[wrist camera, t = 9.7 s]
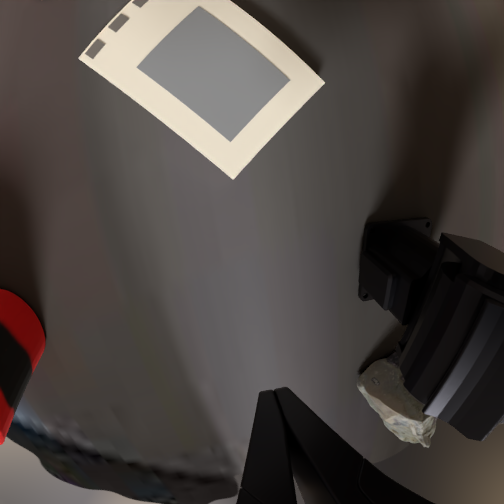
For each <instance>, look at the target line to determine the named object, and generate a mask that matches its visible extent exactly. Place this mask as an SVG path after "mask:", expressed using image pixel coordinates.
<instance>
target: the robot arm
mask: <svg viewBox="0 0 504 504" xmlns="http://www.w3.org/2000/svg"><path fill="white" fill-rule="evenodd" d="M426 223H427V225H426ZM371 228H373V231H372V232H370V230H371ZM431 228H432V221H431V219H429V218H427V217H424V218H413V219H402V220H392V221H382V222H372V223H368V224H367V225H366V227H365V231H364V244H363V252H362V254H361V262H360V272H359V283H360V284H359V293H358V296H359V298H360V299H361V300H362V301H368V300H372V299H375V300H376V302H377V303H378V304H379V305H380V306H381V307H382V308H383V309H384V310H389V311H390V312H391V313H392V314H393V315H394V316H395V317H396V318H397V319H398V321H399V322H400V323H401V324H402V325H407V324H408V326H407V328H406V331H405V333H404V335H403V337H402V339H401V341H399V342H398V344H397V346H396V351H397V355H398V358H399V368H400V371H401V373H402V375H403V378H404V382H403V385H404V387H405V389H406V390H407V391H408V392H409V394H410V395H411V396H412V397H414V398H415V399H416V400H417V401H418V402H419V403H421V404H422V405H424V407H423V409H422V412H423V413H424V414H427V415H430V416H434V417H437V418H439V419H441V420H443V421H445V422H447V423H449V424H450V425H451V426H453V427H455V429H457V430H458V431H459V432H460V433H462V434H463V435H464V436H465V437H467V438H468V439H473V440H479V441H483V440H485V439H486V438H487V437H488V436H489V435H490V434H491V432H492V431H493V430H494V429H495V428H496V427H497V426H498V424H504V253H503V252H501V251H500V250H498V249H496V248H494V247H492V246H490V245H488V244H486V243H484V242H482V241H479V240H475V239H470V238H466V237H461V236H457V235H452V234H447V233H441V236H440V239H439V241H440V244H439V243H438V242H436V241H434V240H433V239H431V238H430V235H431ZM365 293H366V295H364V294H365ZM363 295H364V296H363ZM293 476H294V478H295V480H296V483H297V486H298V488H299V490H300V493H301V495H302V498H303V500H304V502H305V504H435V503H433V502H431V501H429V500H427V499H425V498H423V497H421V496H420V495H418V494H416V493H414V492H412V491H411V490H409V489H407V488H406V487H404V486H402V485H400V484H399V483H397V482H396V481H394V480H393V479H391V478H390V477H388V476H386V475H385V474H384V473H382V472H381V471H380V470H379V469H377V468H376V467H375V466H374V465H372V464H371V463H370V462H369V461H368V460H367V459H365V458H364V459H363V456H362V455H361V454H359V453H358V452H357V451H356V450H355V449H354V448H353V447H351V446H350V445H349V444H348V443H347V442H346V441H345V440H344V439H342V438H341V437H340V436H339V435H338V434H337V433H336V432H335V431H334V430H332V429H331V428H330V427H329V426H328V425H327V424H326V423H325V422H324V421H323V420H322V419H321V418H319V417H318V416H317V415H316V414H315V413H314V412H313V411H312V410H311V409H310V408H309V407H308V406H307V405H306V404H305V403H304V402H303V401H301V400H300V399H299V398H298V397H297V396H296V395H295V394H294V393H293V392H292V391H291V390H290V389H289V388H288V387H282V388H277V389H275V390H274V391H273V390H266V391H261V392H260V393H259V397H258V402H257V407H256V412H255V418H254V423H253V428H252V433H251V438H250V443H249V448H248V453H247V458H246V462H245V467H244V472H243V477H242V482H241V486H240V487H241V488H240V490H239V494H238V499H237V503H236V504H297V501H296V494H295V487H294V480H293Z"/></svg>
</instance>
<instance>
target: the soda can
mask: <svg viewBox="0 0 504 504" xmlns="http://www.w3.org/2000/svg"><path fill="white" fill-rule="evenodd" d="M44 349H45V335H44V331H43V329H42V326H41V323H40V321H39V319H38V317H37V316H36V314H35V313H34V311H33V310H32V309H31V308H30V306H29V305H28V304H27V303H26V302H25V301H24V300H22V299H21V298H20V297H18V296H17V295H16V294H14V293H12V292H10V291H7V290H3V289H0V445H1V444H3V442H4V440H5V437H6V435H7V432H8V429H9V427H10V424H11V422H12V419H13V417H14V414H15V412H16V409H17V407H18V404H19V402H20V400H21V398H22V395H23V393H24V391H25V389H26V386H27V384H28V382H29V380H30V378H31V376H32V374H33V372H34V369H35V367H36V365H37V363H38V361H39V359H40V357H41V355H42V354H43V352H44Z"/></svg>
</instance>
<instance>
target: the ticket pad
mask: <svg viewBox="0 0 504 504" xmlns="http://www.w3.org/2000/svg"><path fill="white" fill-rule="evenodd" d="M78 59H80V60H81V61H82V62H84V63H85V64H86V65H88V66H89V67H91V68H92V69H93V70H95V71H96V72H97V73H99V74H100V75H102V76H103V77H104V78H106V79H107V80H108V81H110V82H111V83H112V84H114V85H115V86H116V87H118V88H119V89H120V90H122V91H123V92H124V93H126V94H127V95H128V96H130V97H131V98H132V99H134V100H135V101H136V102H137V103H139V104H140V105H141V106H143V107H144V108H145V109H147V110H148V111H149V112H150V113H152V114H153V115H154V116H156V117H157V118H158V119H159V120H161V121H162V122H163V123H164V124H166V125H167V126H168V127H169V128H171V129H172V130H173V131H174V132H176V133H177V134H178V135H179V136H181V137H182V138H183V139H184V140H186V141H187V142H188V143H189V144H191V145H192V146H193V147H194V148H196V149H197V150H198V151H199V152H200V153H202V154H203V155H204V156H205V157H207V158H208V159H209V160H210V161H211V162H213V163H214V164H215V165H216V166H217V167H219V168H220V169H221V170H222V171H223V172H225V173H226V174H227V175H228V176H229V177H231V178H232V179H234V178H235V177H236V176H237V175H238V174H239V173H240V172H241V171H242V169H243V168H244V167H245V166H246V165H247V164H248V163H249V162H250V161H251V159H252V158H253V157H254V156H255V155H256V154H257V153H258V152H259V151H260V150H261V149H262V147H263V146H264V145H265V144H266V143H267V142H268V141H269V140H270V139H271V138H272V137H273V136H274V135H275V134H276V133H277V131H278V130H279V129H280V128H281V127H282V126H283V125H284V124H285V123H286V122H287V121H288V120H289V119H290V118H291V117H292V116H293V115H294V114H295V113H296V112H297V111H298V110H299V109H300V108H301V107H302V106H303V105H304V104H305V103H306V102H307V101H308V100H309V99H310V98H311V97H312V96H313V95H314V94H315V93H316V92H317V91H318V90H319V89H320V88H321V87H322V86H323V85H324V84H325V82H324V81H323V80H322V79H321V78H320V77H319V76H318V75H317V74H316V73H315V72H314V71H313V70H312V69H311V68H310V67H309V66H308V65H307V64H306V63H305V62H304V61H302V60H301V59H300V58H299V57H298V56H297V55H296V54H295V53H294V52H293V51H292V50H291V49H289V48H288V47H287V46H286V45H285V44H284V43H283V42H282V41H281V40H279V39H278V38H277V37H276V36H275V35H274V34H272V33H271V32H270V31H269V30H268V29H266V28H265V27H264V26H263V25H262V24H260V23H259V22H258V21H257V20H255V19H254V18H253V17H252V16H250V15H249V14H248V13H246V12H245V11H244V10H242V9H241V8H240V7H238V6H237V5H236V4H234V3H233V2H232V1H230V0H131V1H130V2H129V3H128V4H127V5H126V6H125V7H124V8H123V9H122V10H121V11H120V12H119V13H118V14H117V15H116V16H115V17H114V18H113V19H112V20H111V21H110V22H109V23H108V24H107V25H106V27H105V28H104V29H103V30H102V31H101V32H100V33H99V34H98V35H97V37H96V38H95V39H94V40H93V41H92V42H91V44H90V45H89V46H88V47H87V48H86V50H85V51H84V52H83V53H82V54H81V56H80V57H79V58H78Z"/></svg>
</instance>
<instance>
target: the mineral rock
mask: <svg viewBox="0 0 504 504" xmlns="http://www.w3.org/2000/svg"><path fill="white" fill-rule="evenodd" d="M403 382H404V378H403V375H402V373H401V371H400V368H399V358H398V355H397V352H394V353H393V354H391V355H390V357H388V358H385V359H380V360H377V361H375V362H374V363H372V364H371V365H370V366H369V367H368V368H367V369H366V370H365V371H364V373H363V374H361V375H360V376H359V379H358V381H357V387H358V389H359V390H360V391H361V393H362V394H363V395H364V397H365V398H366V399H367V401H368V403H369V404H370V406H371V407H372V408H373V409H374V410H375V411H376V412H377V413H379V416H380V417H381V418H382V420H383V422H384V424H385V426H386V427H387V428H388V429H389V430H390V431H392V432H393V433H394V434H395V435H396V436H397V437H398V438H399V439H401V440H402V441H409V442H411V443H420V442H421V444H422V445H423V446H424V447H429V446H430V444H431V442H430V438H431V436H432V435H433V434H434V432H435V428H436V420H437V417H434V416H430V415H427V414H424V413H423V412H422V409H423V407H424V405H422V404H421V403H419V402H418V401H417V400H416V399H415V398H414V397H412V396H411V395H410V394H409V392H408V391H407V390H406V389H405V387H404V385H403Z"/></svg>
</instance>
